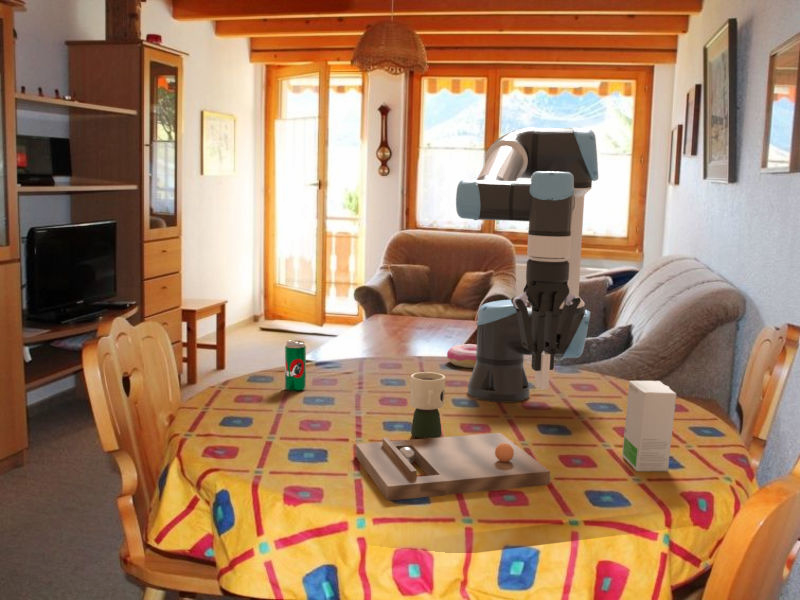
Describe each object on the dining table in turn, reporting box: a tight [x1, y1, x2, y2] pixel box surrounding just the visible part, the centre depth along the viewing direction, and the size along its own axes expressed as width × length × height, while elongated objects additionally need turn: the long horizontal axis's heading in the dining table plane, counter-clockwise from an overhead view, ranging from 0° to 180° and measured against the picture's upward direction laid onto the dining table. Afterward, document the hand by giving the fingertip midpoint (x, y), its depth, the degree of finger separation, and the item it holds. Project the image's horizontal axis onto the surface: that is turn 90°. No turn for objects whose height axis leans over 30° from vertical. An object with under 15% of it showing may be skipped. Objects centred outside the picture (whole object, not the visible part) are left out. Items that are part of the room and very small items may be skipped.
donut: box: [446, 343, 477, 369], centre depth 238 cm, size 14×13×5 cm
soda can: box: [284, 339, 307, 392], centre depth 206 cm, size 5×5×12 cm
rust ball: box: [495, 443, 514, 462], centre depth 153 cm, size 3×3×3 cm
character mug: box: [409, 371, 446, 439], centre depth 172 cm, size 11×7×13 cm, turn 7°
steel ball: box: [399, 447, 415, 465], centre depth 157 cm, size 3×3×3 cm
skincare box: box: [621, 380, 677, 472], centre depth 159 cm, size 8×7×16 cm
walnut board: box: [355, 432, 551, 501], centre depth 155 cm, size 30×22×4 cm
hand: (541, 387), depth 153 cm, fingers closed
